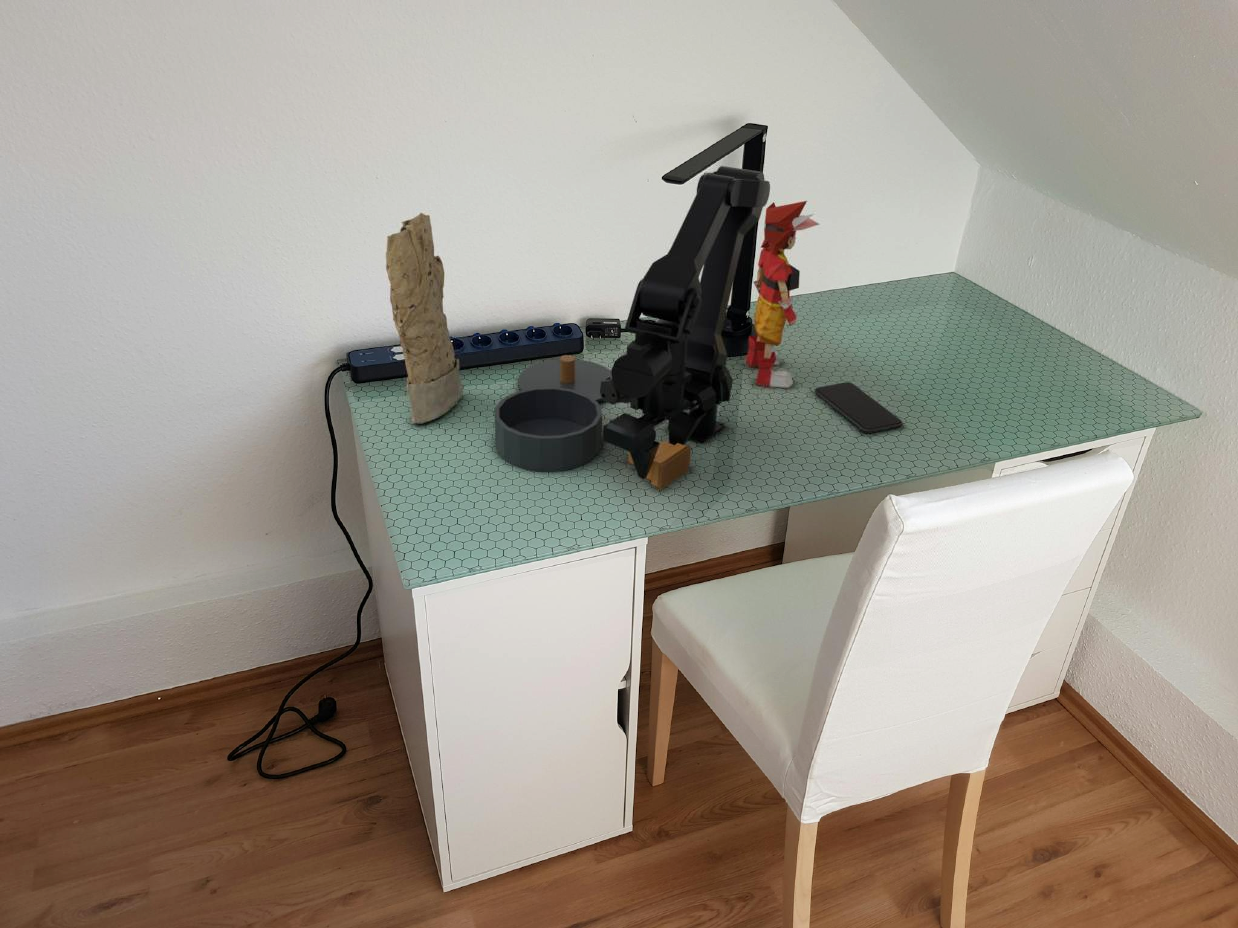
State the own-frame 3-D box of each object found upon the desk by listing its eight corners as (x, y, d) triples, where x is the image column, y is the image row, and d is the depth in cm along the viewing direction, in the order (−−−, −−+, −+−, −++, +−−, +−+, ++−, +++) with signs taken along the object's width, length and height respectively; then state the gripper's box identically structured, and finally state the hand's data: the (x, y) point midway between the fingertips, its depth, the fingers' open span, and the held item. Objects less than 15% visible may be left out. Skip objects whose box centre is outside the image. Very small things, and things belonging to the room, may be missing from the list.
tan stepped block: (689, 470, 140) (691, 446, 138) (660, 490, 135) (662, 466, 133) (644, 451, 144) (645, 427, 142) (614, 470, 139) (615, 446, 137)
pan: (544, 409, 154) (543, 377, 151) (621, 441, 146) (623, 408, 143) (473, 447, 144) (472, 413, 141) (553, 484, 136) (553, 449, 133)
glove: (472, 420, 150) (461, 229, 135) (404, 429, 147) (384, 234, 132) (457, 381, 161) (445, 200, 146) (393, 388, 158) (374, 205, 143)
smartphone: (904, 427, 152) (849, 385, 164) (905, 422, 152) (850, 380, 163) (864, 435, 149) (811, 392, 161) (865, 430, 149) (812, 387, 161)
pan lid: (562, 356, 170) (562, 329, 168) (636, 384, 162) (638, 356, 159) (497, 388, 159) (495, 360, 157) (573, 420, 151) (573, 390, 148)
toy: (811, 385, 163) (837, 207, 148) (764, 393, 161) (785, 212, 145) (776, 356, 173) (796, 185, 157) (730, 363, 170) (747, 190, 154)
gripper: (656, 328, 141) (651, 423, 149) (571, 372, 128) (571, 473, 136) (721, 350, 135) (713, 448, 143) (640, 398, 122) (635, 502, 130)
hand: (658, 466), depth 138 cm, fingers open, 7 cm apart
